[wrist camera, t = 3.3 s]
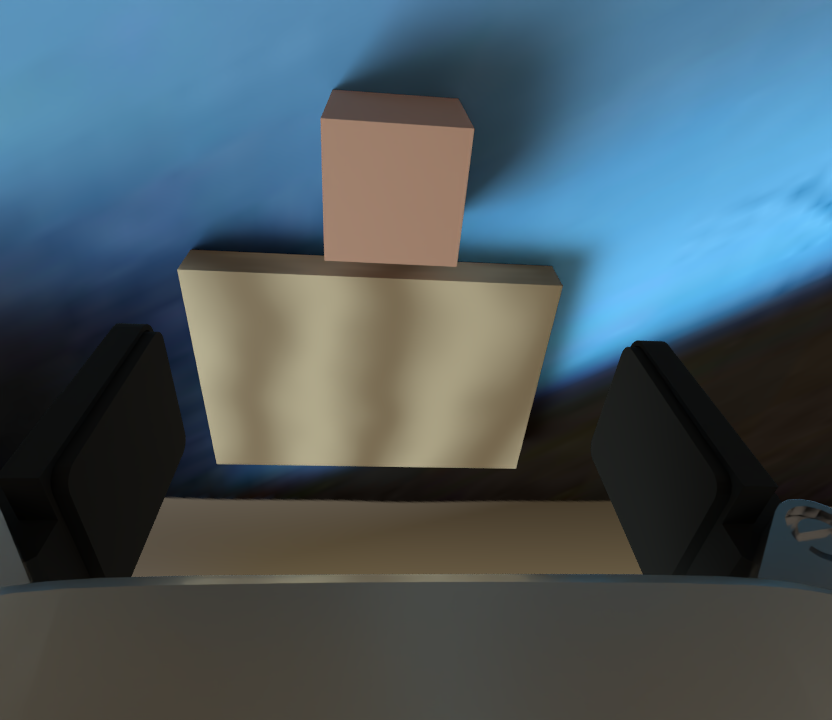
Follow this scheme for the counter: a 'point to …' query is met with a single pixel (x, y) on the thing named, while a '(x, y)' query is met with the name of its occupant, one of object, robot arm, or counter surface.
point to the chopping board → (366, 358)
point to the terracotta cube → (394, 177)
